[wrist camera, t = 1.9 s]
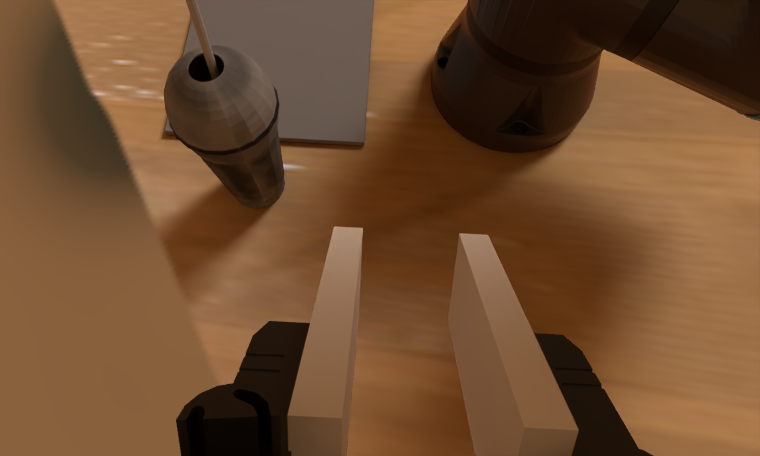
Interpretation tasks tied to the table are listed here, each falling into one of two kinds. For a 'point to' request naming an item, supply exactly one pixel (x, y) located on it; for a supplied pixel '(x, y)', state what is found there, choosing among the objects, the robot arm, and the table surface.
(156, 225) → the table surface
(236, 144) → the beverage cup
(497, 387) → the robot arm
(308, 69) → the rubber mat
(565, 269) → the table surface
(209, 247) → the table surface
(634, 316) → the table surface
